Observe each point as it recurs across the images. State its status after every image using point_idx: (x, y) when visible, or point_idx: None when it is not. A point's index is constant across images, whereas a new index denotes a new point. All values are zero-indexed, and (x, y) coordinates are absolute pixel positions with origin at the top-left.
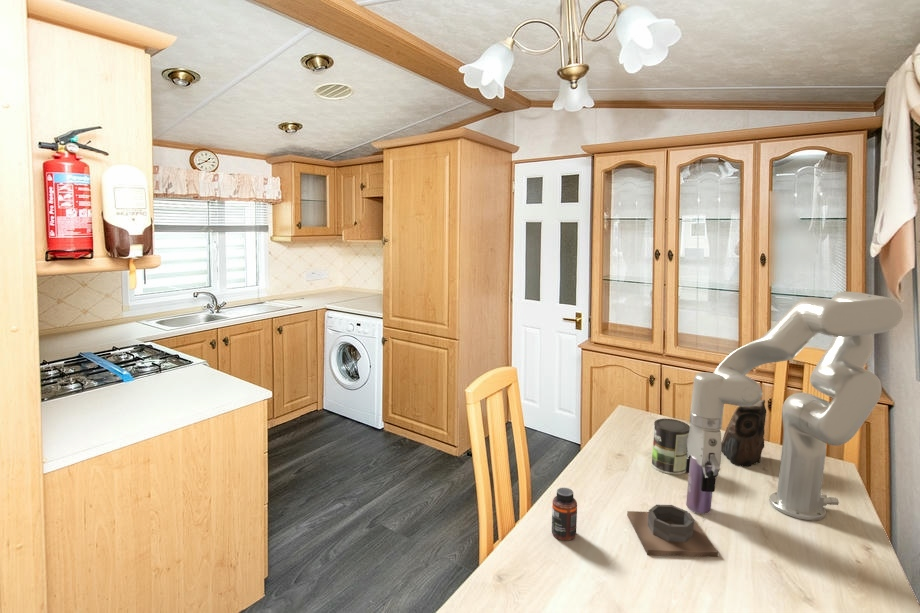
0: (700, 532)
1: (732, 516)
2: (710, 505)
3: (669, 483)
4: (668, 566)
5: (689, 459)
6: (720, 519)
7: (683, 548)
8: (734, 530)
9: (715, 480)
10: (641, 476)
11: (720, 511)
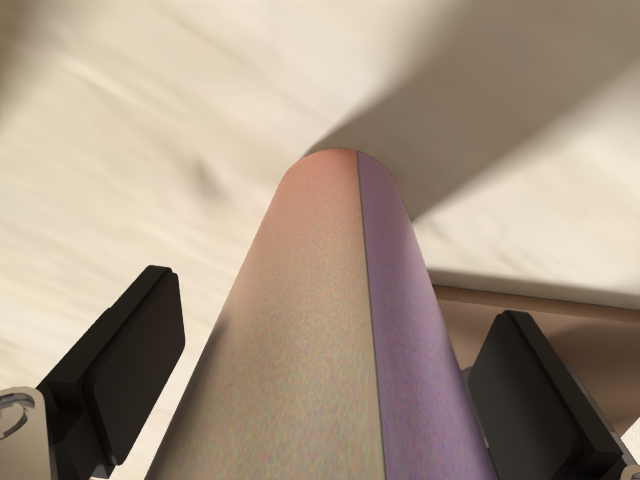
0: (563, 327)
1: (443, 33)
2: (395, 187)
3: (76, 218)
4: (637, 453)
5: (104, 466)
6: (454, 139)
7: (620, 420)
8: (577, 122)
9: (593, 411)
10: (43, 309)
11: (375, 84)
